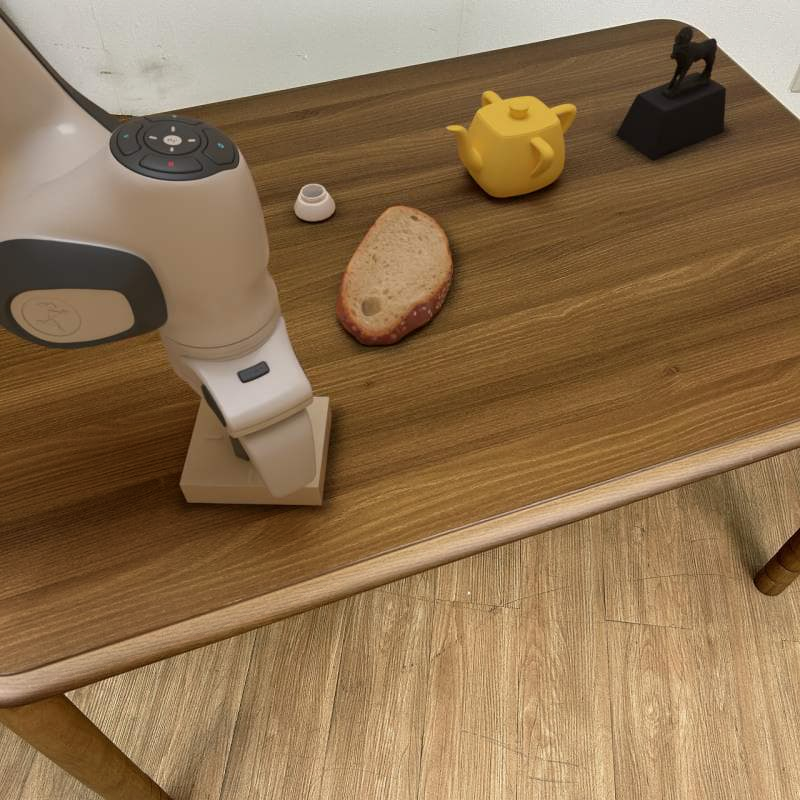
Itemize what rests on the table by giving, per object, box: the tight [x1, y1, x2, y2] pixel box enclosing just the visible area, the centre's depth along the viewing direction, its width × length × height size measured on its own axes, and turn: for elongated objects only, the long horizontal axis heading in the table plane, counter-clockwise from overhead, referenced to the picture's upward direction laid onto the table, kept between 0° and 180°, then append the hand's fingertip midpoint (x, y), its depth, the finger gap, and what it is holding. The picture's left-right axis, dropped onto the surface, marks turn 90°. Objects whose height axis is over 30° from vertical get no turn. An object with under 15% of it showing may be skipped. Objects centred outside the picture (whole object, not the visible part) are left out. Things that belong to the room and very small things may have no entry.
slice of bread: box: [335, 205, 454, 346], centre depth 83 cm, size 18×18×4 cm
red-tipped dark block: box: [229, 436, 250, 461], centre depth 65 cm, size 5×1×3 cm, turn 154°
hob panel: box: [179, 396, 333, 506], centre depth 68 cm, size 12×10×3 cm
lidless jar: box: [293, 183, 336, 222], centre depth 91 cm, size 5×3×5 cm
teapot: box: [445, 90, 578, 198], centre depth 92 cm, size 14×13×10 cm
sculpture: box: [615, 26, 727, 161], centre depth 96 cm, size 8×13×15 cm, turn 119°
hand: (253, 440), depth 66 cm, fingers closed on red-tipped dark block, 2 cm apart
